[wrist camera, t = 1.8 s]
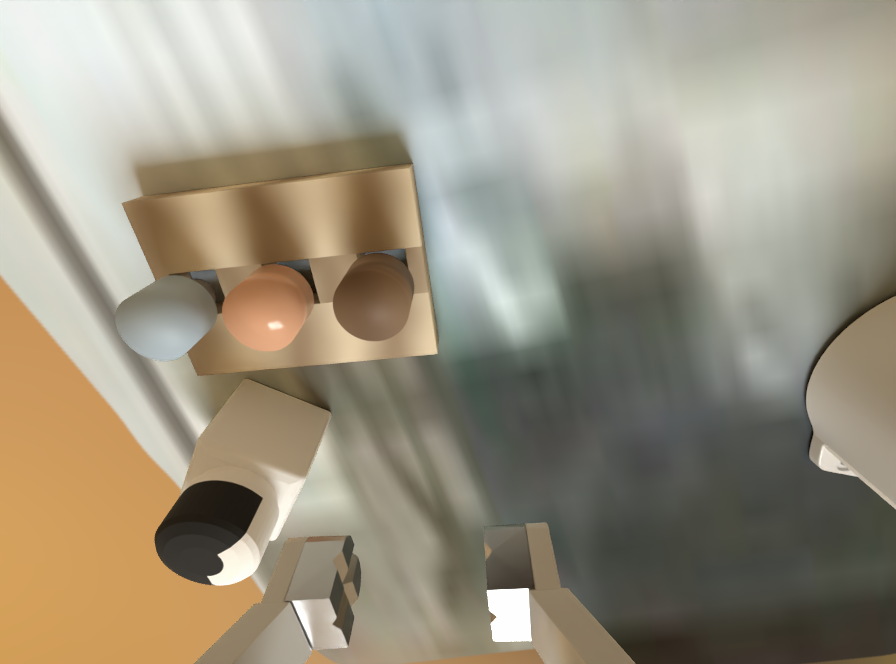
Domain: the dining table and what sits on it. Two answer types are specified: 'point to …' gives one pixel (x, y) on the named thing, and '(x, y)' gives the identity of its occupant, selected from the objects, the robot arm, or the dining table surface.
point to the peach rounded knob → (268, 307)
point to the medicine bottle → (240, 484)
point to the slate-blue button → (167, 317)
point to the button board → (292, 256)
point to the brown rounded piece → (374, 297)
